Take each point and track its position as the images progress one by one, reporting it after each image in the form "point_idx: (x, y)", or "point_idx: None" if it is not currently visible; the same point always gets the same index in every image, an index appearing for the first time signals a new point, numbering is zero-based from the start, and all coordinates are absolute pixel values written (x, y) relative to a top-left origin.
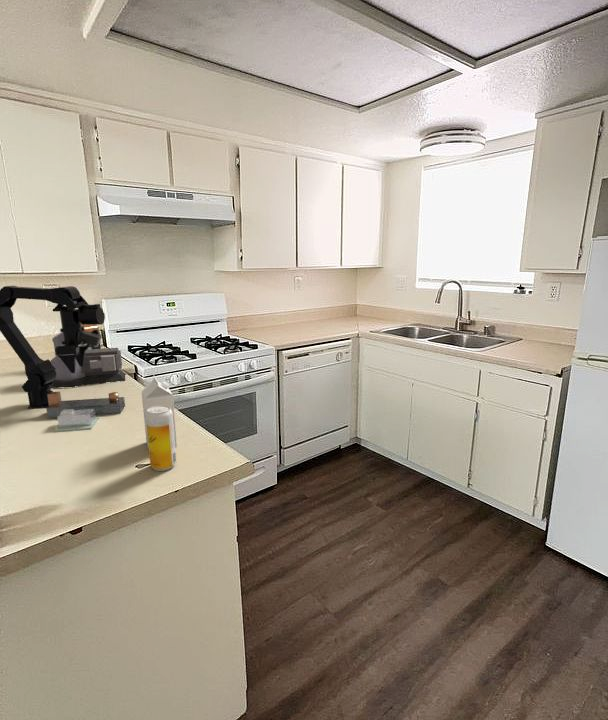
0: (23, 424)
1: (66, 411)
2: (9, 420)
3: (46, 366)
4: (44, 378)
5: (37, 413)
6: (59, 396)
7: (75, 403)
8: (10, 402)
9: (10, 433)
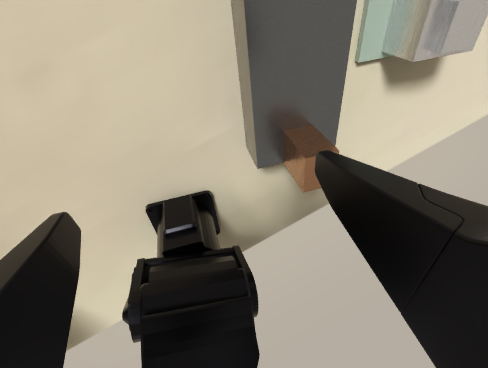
0: None
1: (472, 25)
2: (300, 215)
3: (201, 343)
4: (246, 275)
5: (259, 186)
6: (310, 144)
7: (304, 64)
8: None
9: (392, 162)
